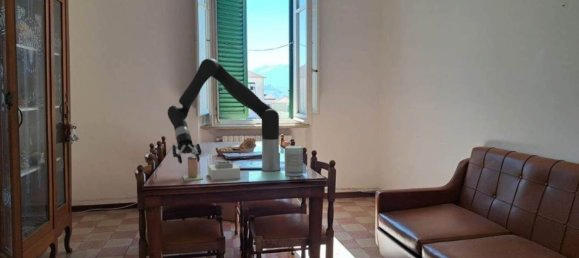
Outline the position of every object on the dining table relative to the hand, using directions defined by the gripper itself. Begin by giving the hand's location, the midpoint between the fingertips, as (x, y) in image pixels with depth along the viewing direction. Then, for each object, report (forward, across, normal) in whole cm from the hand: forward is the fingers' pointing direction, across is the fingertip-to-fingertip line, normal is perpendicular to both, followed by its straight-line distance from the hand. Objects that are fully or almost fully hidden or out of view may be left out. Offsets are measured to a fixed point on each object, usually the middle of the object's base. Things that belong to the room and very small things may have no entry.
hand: (189, 162), depth 214 cm
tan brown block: (+8, 0, +2) cm, 8 cm away
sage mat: (+9, 0, +2) cm, 9 cm away
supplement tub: (+20, +48, -10) cm, 54 cm away
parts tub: (+11, +15, 0) cm, 19 cm away
